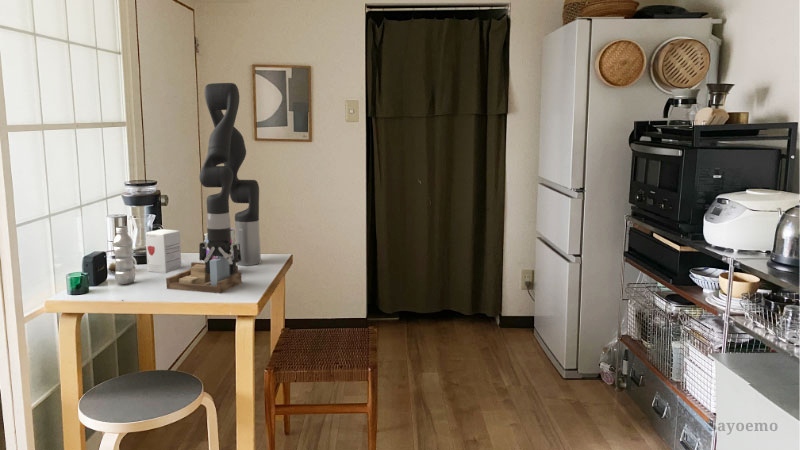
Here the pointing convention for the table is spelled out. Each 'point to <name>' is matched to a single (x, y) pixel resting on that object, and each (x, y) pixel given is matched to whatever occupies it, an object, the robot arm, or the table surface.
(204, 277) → the offcut
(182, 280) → the offcut
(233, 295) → the table surface
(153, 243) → the supplement box
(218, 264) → the board
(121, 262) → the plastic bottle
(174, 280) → the tray
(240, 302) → the table surface
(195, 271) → the offcut
